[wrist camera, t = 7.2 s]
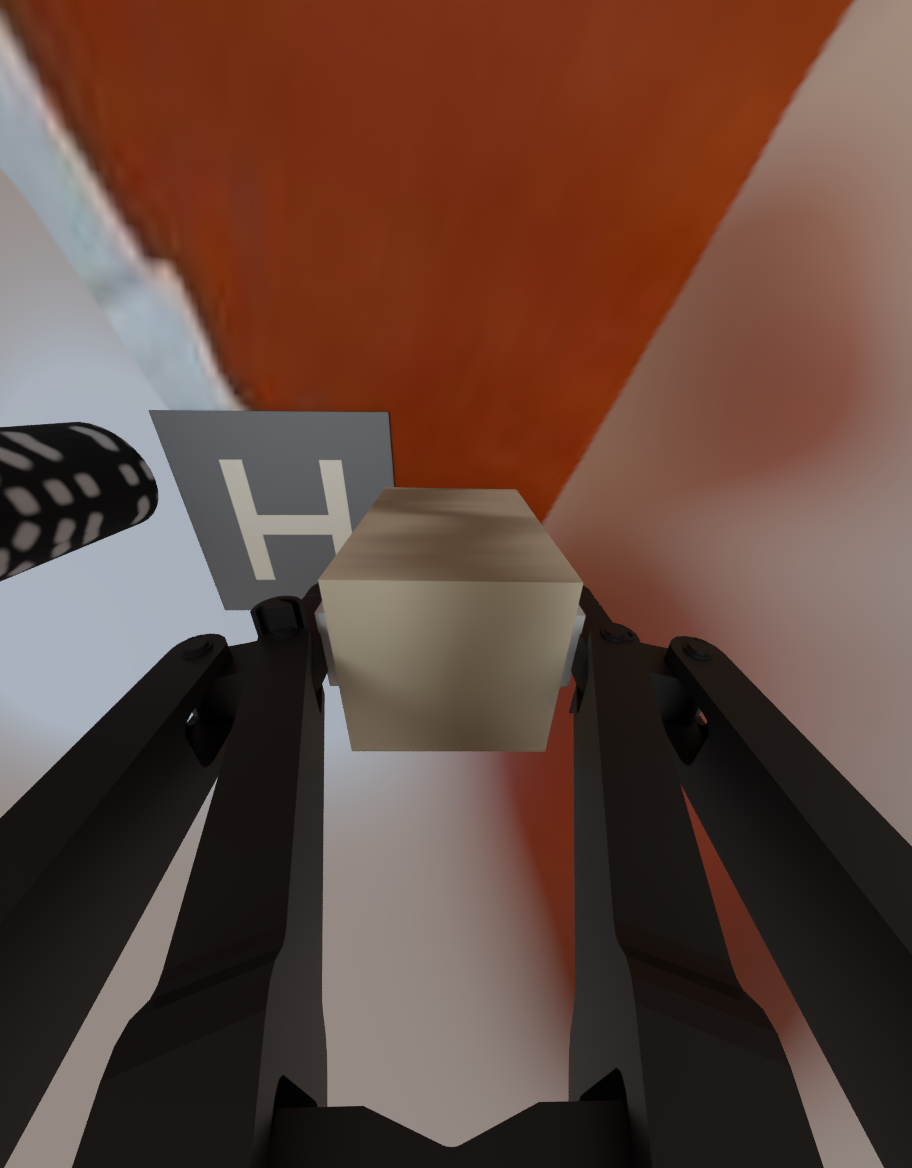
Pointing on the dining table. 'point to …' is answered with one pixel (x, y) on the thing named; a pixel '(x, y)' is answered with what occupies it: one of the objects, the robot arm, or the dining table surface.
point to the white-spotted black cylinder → (66, 491)
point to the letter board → (274, 491)
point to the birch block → (449, 622)
